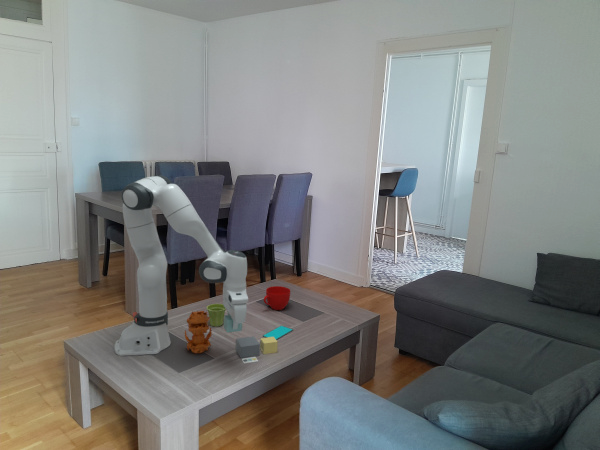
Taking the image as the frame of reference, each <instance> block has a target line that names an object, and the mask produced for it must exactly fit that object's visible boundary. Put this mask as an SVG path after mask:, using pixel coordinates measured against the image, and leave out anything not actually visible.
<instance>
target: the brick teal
mask: <svg viewBox="0 0 600 450" xmlns="http://www.w3.org/2000/svg"><path fill="white" fill-rule="evenodd" d="M232 324H233V319H232V318H231V316H230V315H228V314H226V315H225V314H224V320H223V329H224V331H225V332H226V333H236V332H242V331H243V323H240V324H238V328H237V329H233V328H232Z"/></svg>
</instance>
